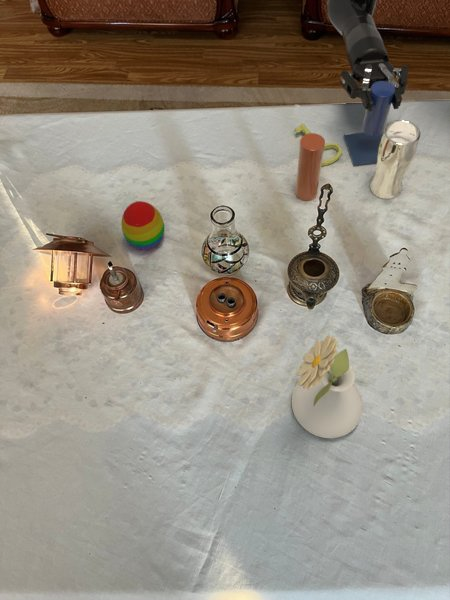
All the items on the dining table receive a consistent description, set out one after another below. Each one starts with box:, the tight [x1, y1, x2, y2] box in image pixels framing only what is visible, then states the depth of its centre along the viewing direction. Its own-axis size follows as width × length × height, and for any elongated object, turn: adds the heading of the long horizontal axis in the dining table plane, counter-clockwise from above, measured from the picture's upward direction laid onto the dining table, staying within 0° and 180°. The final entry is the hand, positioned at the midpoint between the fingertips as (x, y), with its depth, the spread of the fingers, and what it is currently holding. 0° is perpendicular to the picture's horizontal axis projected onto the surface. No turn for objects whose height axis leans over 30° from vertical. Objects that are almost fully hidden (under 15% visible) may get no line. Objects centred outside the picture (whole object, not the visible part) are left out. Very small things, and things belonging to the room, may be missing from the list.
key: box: [293, 123, 343, 167], centre depth 115 cm, size 7×12×2 cm, turn 49°
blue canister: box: [361, 81, 395, 136], centre depth 106 cm, size 5×5×10 cm
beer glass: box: [369, 119, 421, 200], centre depth 103 cm, size 7×7×15 cm
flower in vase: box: [291, 334, 364, 439], centre depth 75 cm, size 13×11×25 cm
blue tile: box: [343, 131, 383, 167], centre depth 115 cm, size 9×9×1 cm
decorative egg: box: [121, 200, 165, 251], centre depth 102 cm, size 8×8×10 cm
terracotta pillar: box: [294, 132, 326, 202], centre depth 104 cm, size 5×5×14 cm
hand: (384, 106), depth 102 cm, fingers closed on blue canister, 4 cm apart
